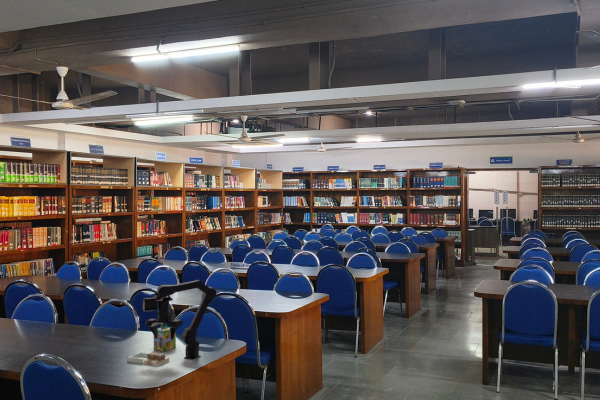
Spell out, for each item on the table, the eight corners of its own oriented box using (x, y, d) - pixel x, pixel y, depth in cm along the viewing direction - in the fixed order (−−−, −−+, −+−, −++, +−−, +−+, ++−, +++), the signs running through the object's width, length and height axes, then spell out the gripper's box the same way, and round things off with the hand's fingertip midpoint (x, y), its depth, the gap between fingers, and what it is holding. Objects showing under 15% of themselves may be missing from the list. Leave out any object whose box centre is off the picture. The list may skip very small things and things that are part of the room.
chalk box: (164, 352, 293) (164, 325, 293) (153, 350, 298) (152, 323, 298) (176, 348, 301) (176, 322, 301) (164, 346, 306) (164, 320, 306)
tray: (155, 359, 279) (155, 354, 279) (142, 364, 270) (142, 359, 270) (140, 356, 284) (140, 352, 284) (127, 361, 275) (127, 357, 275)
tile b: (158, 357, 274) (158, 353, 274) (153, 359, 271) (153, 354, 271) (152, 356, 276) (152, 352, 276) (147, 358, 272) (147, 354, 272)
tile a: (165, 358, 272) (165, 353, 272) (159, 360, 269) (159, 355, 269) (159, 357, 274) (159, 353, 274) (153, 359, 270) (153, 355, 270)
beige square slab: (169, 361, 274) (169, 357, 274) (157, 366, 266) (157, 362, 266) (155, 359, 278) (155, 355, 278) (143, 364, 270) (143, 360, 270)
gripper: (187, 307, 280) (187, 336, 280) (156, 306, 285) (156, 334, 285) (176, 311, 269) (177, 341, 269) (144, 310, 274) (145, 339, 274)
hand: (164, 339), depth 274 cm, fingers open, 9 cm apart
